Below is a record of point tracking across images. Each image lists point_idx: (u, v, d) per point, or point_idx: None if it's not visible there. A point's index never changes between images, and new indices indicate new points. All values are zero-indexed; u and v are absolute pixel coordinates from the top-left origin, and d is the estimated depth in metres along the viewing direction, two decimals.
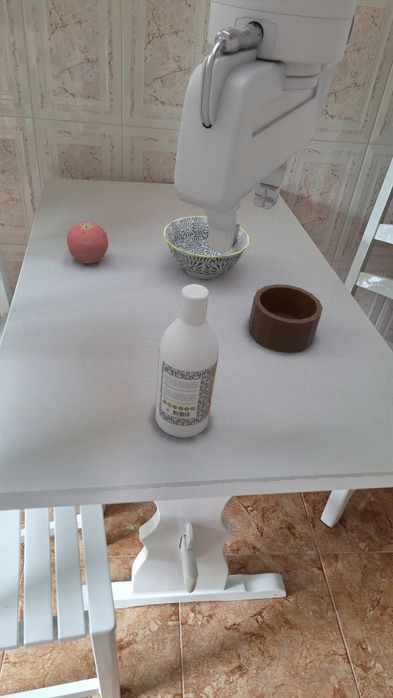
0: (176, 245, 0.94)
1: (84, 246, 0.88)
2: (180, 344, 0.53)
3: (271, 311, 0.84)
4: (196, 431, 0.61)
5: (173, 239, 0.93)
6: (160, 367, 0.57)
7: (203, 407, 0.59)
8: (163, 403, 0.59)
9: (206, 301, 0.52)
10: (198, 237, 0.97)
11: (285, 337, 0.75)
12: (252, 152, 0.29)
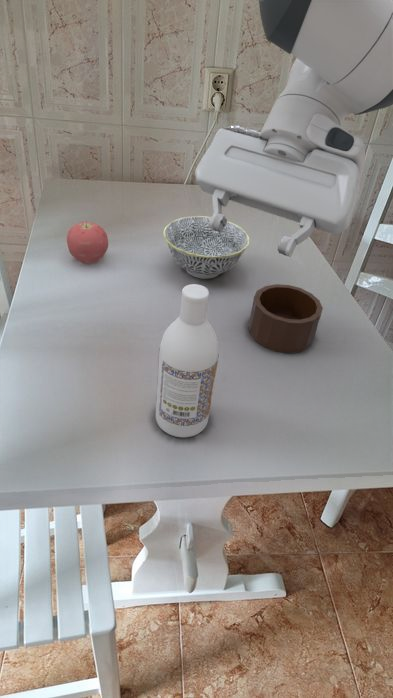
0: (176, 245, 0.94)
1: (84, 246, 0.88)
2: (180, 344, 0.53)
3: (271, 311, 0.84)
4: (196, 431, 0.61)
5: (173, 239, 0.93)
6: (160, 367, 0.57)
7: (203, 407, 0.59)
8: (163, 403, 0.59)
9: (206, 301, 0.52)
10: (198, 237, 0.97)
11: (285, 337, 0.75)
12: (223, 163, 0.60)
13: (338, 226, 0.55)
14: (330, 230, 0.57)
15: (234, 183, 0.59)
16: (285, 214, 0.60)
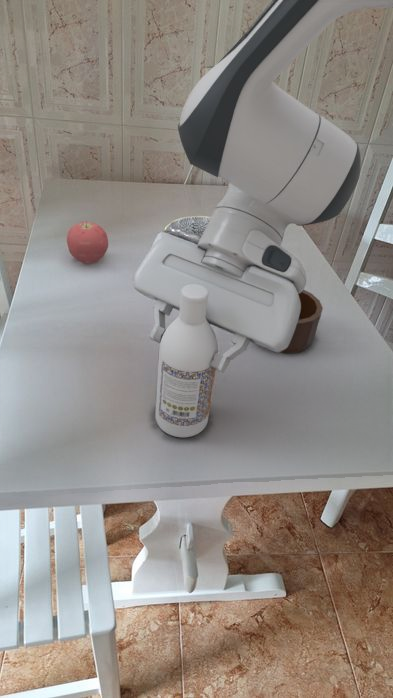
0: None
1: (84, 246, 0.88)
2: (180, 344, 0.53)
3: None
4: (196, 431, 0.61)
5: None
6: (160, 367, 0.57)
7: (203, 407, 0.59)
8: (163, 403, 0.59)
9: (206, 301, 0.52)
10: None
11: None
12: (161, 272, 0.58)
13: (275, 348, 0.53)
14: (269, 349, 0.55)
15: (171, 295, 0.57)
16: None
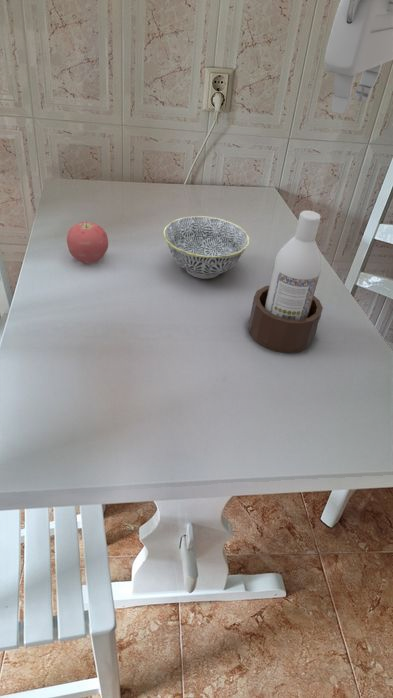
0: (176, 245, 0.94)
1: (84, 246, 0.88)
2: (296, 257, 0.70)
3: None
4: None
5: (173, 239, 0.93)
6: (275, 279, 0.73)
7: (305, 313, 0.76)
8: (274, 310, 0.76)
9: (319, 222, 0.68)
10: (198, 237, 0.97)
11: (285, 337, 0.75)
12: (368, 42, 0.53)
13: None
14: None
15: (369, 62, 0.56)
16: None
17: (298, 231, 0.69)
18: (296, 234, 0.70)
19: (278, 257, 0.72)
